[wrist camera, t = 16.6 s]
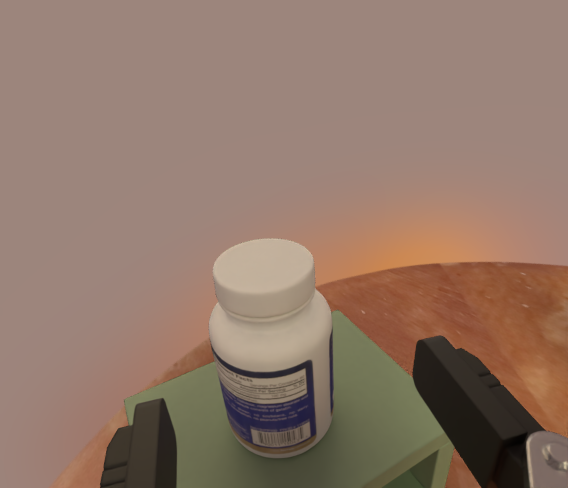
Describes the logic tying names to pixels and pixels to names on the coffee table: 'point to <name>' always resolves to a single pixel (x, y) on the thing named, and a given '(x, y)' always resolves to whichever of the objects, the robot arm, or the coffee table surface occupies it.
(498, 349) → the coffee table surface
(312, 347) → the pill bottle
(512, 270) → the coffee table surface
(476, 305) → the coffee table surface
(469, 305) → the coffee table surface
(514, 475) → the robot arm
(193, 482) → the stand
